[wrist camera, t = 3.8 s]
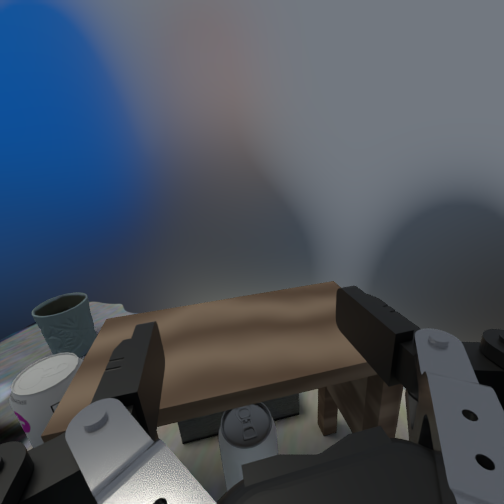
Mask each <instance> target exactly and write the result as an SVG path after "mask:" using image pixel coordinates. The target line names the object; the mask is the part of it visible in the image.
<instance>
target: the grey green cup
mask: <svg viewBox="0 0 504 504" xmlns="http://www.w3.org/2000/svg"><path fill="white" fill-rule="evenodd" d="M32 316H33V318H34V319H35V321H36V323H37V324H38V326H39V328H40V329H41V332H42V334H43V336H44V338H45V340H46V342H47V343H48V345H49V347H50V349H51V351H52V353H53V355H55V354H58V353H68V352H69V353H73V354H75V355H76V356H77V357H79V358H80V357H82V356H84V355H86V354H87V353H88V351H89V349H90V348H91V346H92V344H93V342H94V340H95V339H96V337H97V336H96V332H95V330H94V323H93V319H92V316H91V313H90V308H89V301H88V297H87V295H86V294H85V293H70V294H65V295H61V296H57V297H54V298H52V299H50V300H47V301H45V302H43V303H41V304H40V305H38V306H37V307H36V308H34V310H33V311H32Z"/></svg>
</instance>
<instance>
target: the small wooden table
mask: <svg viewBox="0 0 504 504" xmlns="http://www.w3.org/2000/svg"><path fill="white" fill-rule="evenodd" d="M339 288H341V287H339V286H338V285H337V284H336V283H335V282H334V281H331V282H326V283H320V284H314V285H307V286H301V287H296V288H290V289H283V290H278V291H272V292H266V293H260V294H253V295H248V296H242V297H236V298H230V299H224V300H218V301H212V302H206V303H200V304H194V305H188V306H182V307H176V308H170V309H164V310H158V311H152V312H146V313H140V314H134V315H128V316H122V317H116V318H110V319H106V321H105V323H104V324H103V326H102V328H101V330H100V332H99V333H98V335H97V337H96V339H95V340H94V342H93V344H92V346H91V348H90V349H89V351H88V353H87V355H86V357H85V358H84V360H83V362H82V364H81V365H80V367H79V369H78V371H77V373H76V374H75V376H74V378H73V380H72V381H71V383H70V385H69V387H68V389H67V390H66V392H65V394H64V396H63V397H62V399H61V401H60V403H59V405H58V406H57V408H56V410H55V412H54V413H53V415H52V417H51V419H50V421H49V422H48V424H47V426H46V428H45V429H44V431H43V433H42V435H41V438H42V440H43V442H44V443H45V442H47V441H49V440H52V439H54V438H56V437H57V436H59V435H61V434H63V433H64V432H66V429H67V427H68V425H69V423H70V422H71V420H72V419H73V418H74V417H75V416H76V415H77V414H78V413H79V412H80V411H81V410H82V409H84V408H85V407H86V406H88V405H90V404H91V401H92V399H93V397H94V394H95V392H96V390H97V387H98V385H99V383H100V380H101V378H102V376H103V373H104V371H105V369H106V366H107V364H108V362H109V359H110V357H111V355H112V352H113V350H114V349H115V348H116V347H117V346H118V345H119V344H120V343H121V342H122V341H123V340H126V339H131V337H132V335H133V332H134V329H135V326H136V325H138V324H143V323H149V322H154V321H156V322H157V324H158V328H159V332H160V337H161V341H162V345H163V350H164V355H165V372H164V379H163V386H162V393H161V401H160V408H159V415H158V422H157V427H159V426H163V425H167V424H171V423H176V422H180V421H184V420H188V419H192V418H197V417H201V416H205V415H209V414H213V413H218V412H222V411H226V410H230V409H234V408H239V407H243V406H247V405H251V404H255V403H260V402H264V401H268V400H272V399H276V398H281V397H285V396H289V395H293V394H297V393H302V392H306V391H310V390H314V389H318V425H319V427H320V429H321V431H322V433H323V435H324V436H325V435H329V434H332V433H336V430H337V412H338V409H339V410H340V412H341V414H342V415H343V417H344V419H345V421H346V422H347V424H348V426H349V427H350V429H351V431H352V433H356V432H359V431H363V430H366V429H370V428H373V427H377V426H381V427H382V428H383V430H384V431H385V433H386V434H387V435H388V437H389V438H395V433H396V427H397V421H398V415H399V409H400V403H401V397H402V391H403V385H402V384H398V385H394V386H390V387H388V385H387V384H386V383H385V382H384V381H383V380H382V379H381V377H380V376H379V375H378V374H377V373H376V372H375V371H374V369H373V368H372V367H371V366H370V365H369V364H368V363H367V361H366V360H365V359H364V358H363V357H362V356H361V355H360V353H359V352H358V351H357V350H356V349H355V348H354V347H353V345H352V344H351V343H350V342H349V341H348V340H347V339H346V337H345V336H344V335H343V334H342V333H341V332H340V330H339V329H338V327H337V324H336V293H337V290H338V289H339ZM157 439H159V438H158V434H157V431H156V437H155V441H156V440H157Z"/></svg>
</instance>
